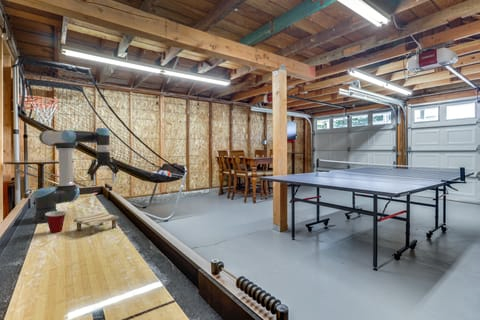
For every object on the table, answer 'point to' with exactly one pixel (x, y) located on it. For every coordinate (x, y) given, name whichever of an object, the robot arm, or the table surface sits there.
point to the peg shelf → (95, 221)
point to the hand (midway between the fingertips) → (104, 183)
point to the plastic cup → (55, 220)
